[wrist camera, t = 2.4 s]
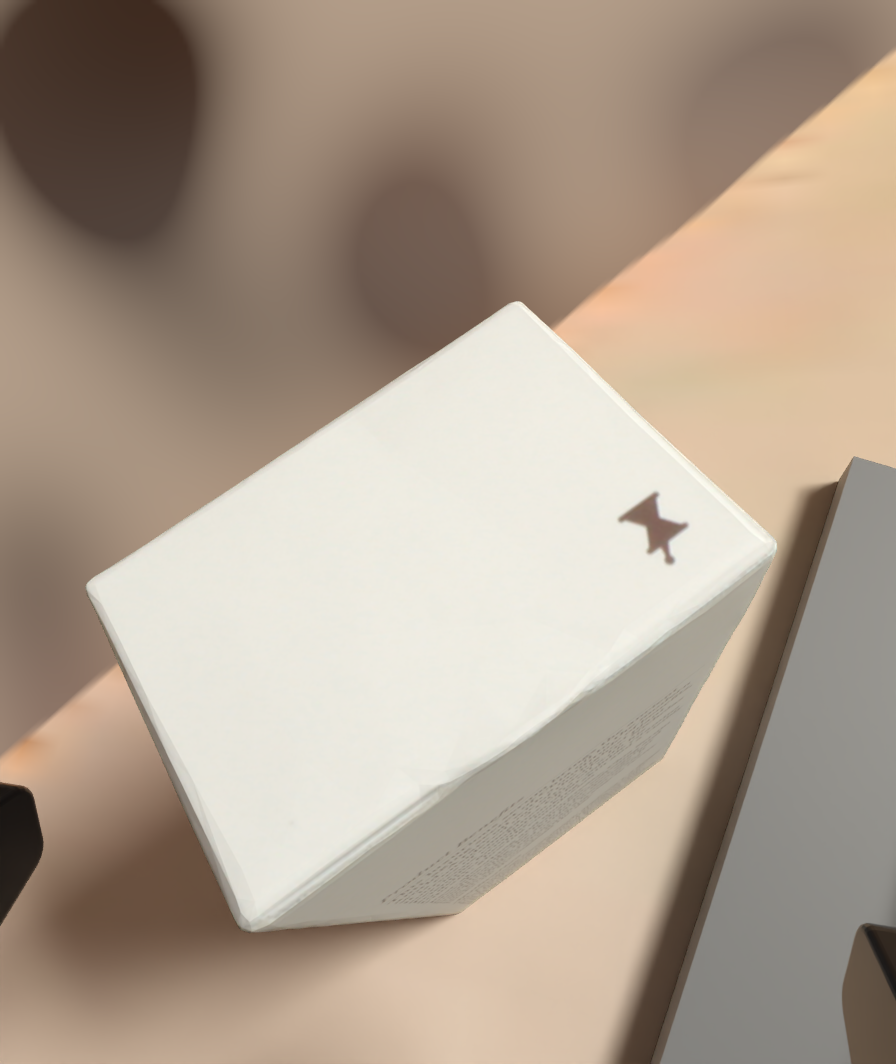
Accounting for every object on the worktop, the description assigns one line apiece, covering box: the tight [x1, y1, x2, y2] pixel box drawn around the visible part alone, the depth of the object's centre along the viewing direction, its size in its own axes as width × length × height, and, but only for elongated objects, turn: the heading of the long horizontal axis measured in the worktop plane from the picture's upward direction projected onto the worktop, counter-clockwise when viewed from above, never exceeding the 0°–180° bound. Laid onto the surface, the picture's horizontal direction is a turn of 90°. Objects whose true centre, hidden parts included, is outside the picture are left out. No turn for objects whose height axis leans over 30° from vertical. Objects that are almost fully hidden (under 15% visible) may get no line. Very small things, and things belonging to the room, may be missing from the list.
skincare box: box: [85, 301, 777, 933], centre depth 13 cm, size 6×4×12 cm
